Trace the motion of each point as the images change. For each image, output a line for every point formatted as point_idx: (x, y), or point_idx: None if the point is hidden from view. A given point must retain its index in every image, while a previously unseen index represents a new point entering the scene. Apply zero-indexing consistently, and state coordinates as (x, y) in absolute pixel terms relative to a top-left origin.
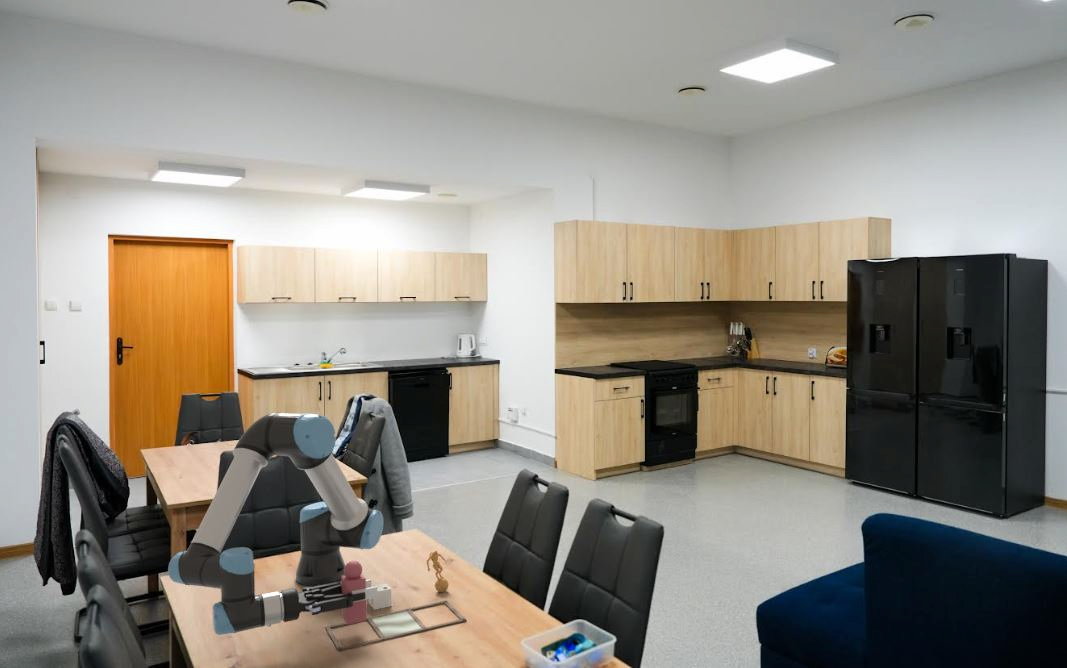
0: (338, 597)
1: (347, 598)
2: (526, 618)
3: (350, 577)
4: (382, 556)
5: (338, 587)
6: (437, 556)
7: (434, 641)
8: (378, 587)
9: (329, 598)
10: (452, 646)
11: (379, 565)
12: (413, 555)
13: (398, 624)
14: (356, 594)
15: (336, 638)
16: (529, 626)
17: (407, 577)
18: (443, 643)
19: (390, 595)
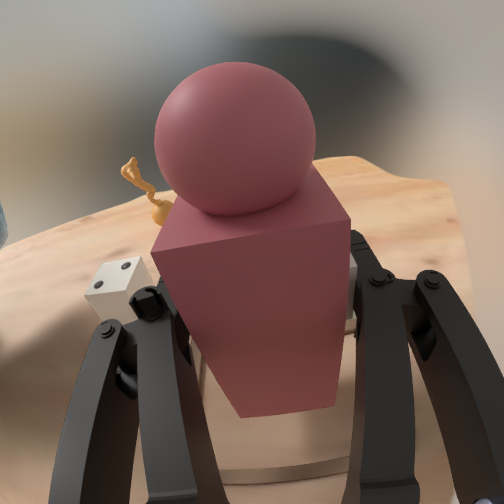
0: (406, 358)
1: (451, 291)
2: (331, 166)
3: (300, 180)
4: (5, 278)
5: (176, 348)
6: (137, 167)
7: (393, 238)
8: (109, 277)
9: (411, 433)
10: (415, 220)
11: (15, 285)
12: (36, 249)
13: None
14: (362, 260)
15: (313, 463)
16: (356, 166)
17: (76, 259)
18: (402, 229)
19: (147, 272)
